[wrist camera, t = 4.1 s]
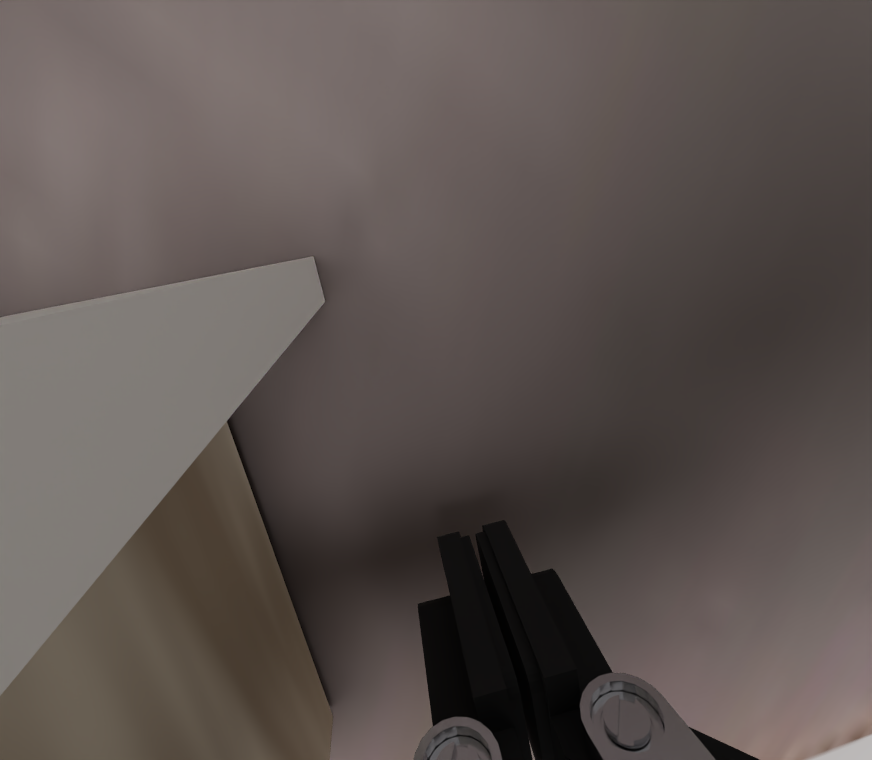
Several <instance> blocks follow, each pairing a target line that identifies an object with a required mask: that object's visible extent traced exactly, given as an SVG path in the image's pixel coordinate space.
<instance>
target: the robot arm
mask: <svg viewBox="0 0 872 760" xmlns="http://www.w3.org/2000/svg"><path fill="white" fill-rule="evenodd" d="M482 527H483V532H481V533H477V534H476V540H477V546H478V551H479V556H480V561H481V566H482V571H483V576H482V573H481V570H480V567H479V564H478V561H477V558H476V555H475V552H474V549H473V546H472V543H471V540H470V537H469V536H465V537H460V534H459V532H455V533H451V534H447V535H443V536H439V537H437V539H438V543H439V548H440V552H441V557H442V561H443V566H444V570H445V575H446V579H447V584H448V588H449V592H450V596H446V597H442V598H438V599H435V600H431V601H427V602H423V603H419V604H418V613H419V620H420V628H421V636H422V644H423V652H424V659H425V667H426V675H427V683H428V691H429V698H430V706H431V714H432V722H433V727H432V728H431V729H430V730H429V731H428V732H427V733H426V734H425V736H424V737H423V738H422V739H421V741H420V743H419V746H418V748H417V750H416V752H415V755H414V760H532V755H531V750H530V744H531V747H532V750H533V754H534V757H535V760H759V759H757V758H755V757H753V756H750V755H748V754H746V753H744V752H742V751H740V750H738V749H735V748H733V747H731V746H729V745H727V744H725V743H722V742H720V741H718V740H716V739H714V738H712V737H709V736H707V735H705V734H703V733H701V732H699V731H697V730H694V729H692V728H690V727H688V726H687V724H686V723H685V722H684V721H683V720H682V718H681V717H680V716H679V715H678V714H677V712H676V711H675V710H674V709H673V708H672V706H671V705H670V704H669V703H668V702H667V700H666V699H665V698H664V697H663V696H662V695H661V694H660V693H659V692H658V691H657V690H656V689H655V688H654V687H653V686H652V685H650V684H649V683H647V682H645V681H644V680H642V679H640V678H638V677H635V676H632V675H629V674H625V673H613V672H612V671H611V669H610V667H609V665H608V664H607V662H606V660H605V658H604V656H603V655H602V653H601V651H600V649H599V648H598V646H597V644H596V642H595V640H594V639H593V637H592V635H591V633H590V632H589V630H588V628H587V626H586V625H585V623H584V621H583V619H582V617H581V616H580V614H579V612H578V610H577V609H576V607H575V605H574V603H573V601H572V600H571V598H570V596H569V594H568V593H567V591H566V589H565V587H564V586H563V584H562V582H561V580H560V578H559V577H558V575H557V574H556V572H555V571H554V570H553V569H549V570H545V571H541V572H538V573H534V574H531V573H530V571H529V569H528V567H527V565H526V563H525V561H524V559H523V556H522V554H521V552H520V550H519V548H518V546H517V544H516V542H515V540H514V538H513V536H512V534H511V532H510V530H509V528H508V526H507V523H506V522H505V521H504V520H503V521H499V522H495V523H491V524H487V525H483V526H482ZM483 577H484V579H483ZM528 738H529V739H528ZM529 741H530V744H529Z"/></svg>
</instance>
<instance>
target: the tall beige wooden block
mask: <svg viewBox="0 0 872 760" xmlns="http://www.w3.org/2000/svg"><path fill="white" fill-rule="evenodd" d="M332 724H333V715H332V713H331V710H330V707H329V704H328V701H327V699H326V696H325V693H324V690H323V688H322V685H321V682H320V679H319V676H318V674H317V671H316V668H315V665H314V663H313V660H312V657H311V654H310V651H309V649H308V646H307V643H306V640H305V638H304V635H303V632H302V629H301V626H300V624H299V621H298V618H297V615H296V613H295V610H294V607H293V604H292V601H291V599H290V596H289V593H288V590H287V588H286V585H285V582H284V579H283V576H282V574H281V571H280V568H279V565H278V562H277V560H276V557H275V554H274V551H273V549H272V546H271V543H270V540H269V537H268V535H267V532H266V529H265V526H264V524H263V521H262V518H261V515H260V512H259V510H258V507H257V504H256V501H255V499H254V496H253V493H252V490H251V487H250V485H249V482H248V479H247V476H246V474H245V471H244V468H243V465H242V462H241V460H240V457H239V454H238V451H237V449H236V446H235V443H234V440H233V437H232V435H231V432H230V429H229V426H228V424H227V421H226V423H225V424H224V425H223V426H222V428H221V429H220V430H219V431H218V432H217V434H216V435H215V436H214V437H213V438H212V440H211V441H210V442H209V443H208V445H207V446H206V447H205V448H204V449H203V451H202V452H201V453H200V454H199V455H198V457H197V458H196V459H195V460H194V461H193V463H192V464H191V465H190V466H189V468H188V469H187V470H186V471H185V472H184V474H183V475H182V476H181V477H180V478H179V480H178V481H177V482H176V483H175V485H174V486H173V487H172V488H171V489H170V491H169V492H168V493H167V494H166V495H165V497H164V498H163V499H162V500H161V502H160V503H159V504H158V505H157V506H156V508H155V509H154V510H153V511H152V512H151V514H150V515H149V516H148V517H147V518H146V520H145V521H144V522H143V523H142V525H141V526H140V527H139V528H138V529H137V531H136V532H135V533H134V534H133V535H132V537H131V538H130V539H129V540H128V542H127V543H126V544H125V545H124V546H123V548H122V549H121V550H120V551H119V552H118V554H117V555H116V556H115V557H114V559H113V560H112V561H111V562H110V563H109V565H108V566H107V567H106V568H105V569H104V571H103V572H102V573H101V574H100V576H99V577H98V578H97V579H96V580H95V582H94V583H93V584H92V585H91V586H90V588H89V589H88V590H87V591H86V592H85V594H84V595H83V596H82V597H81V599H80V600H79V601H78V602H77V603H76V605H75V606H74V607H73V608H72V609H71V611H70V612H69V613H68V614H67V616H66V617H65V618H64V619H63V620H62V622H61V623H60V624H59V625H58V626H57V628H56V629H55V630H54V631H53V633H52V634H51V635H50V636H49V637H48V639H47V640H46V641H45V642H44V643H43V645H42V646H41V647H40V648H39V650H38V651H37V652H36V653H35V654H34V656H33V657H32V658H31V659H30V660H29V662H28V663H27V664H26V665H25V666H24V668H23V669H22V670H21V671H20V673H19V674H18V675H17V676H16V677H15V679H14V680H13V681H12V682H11V683H10V685H9V686H8V687H7V688H6V690H5V691H4V692H3V693H2V694H1V696H0V760H329V759H330V747H331V735H332Z"/></svg>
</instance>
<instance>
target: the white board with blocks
mask: <svg viewBox="0 0 872 760" xmlns="http://www.w3.org/2000/svg"><path fill="white" fill-rule="evenodd" d="M324 303H325V299H324V295H323V291H322V287H321V283H320V279H319V276H318V272H317V268H316V264H315V260H314V256H312V257H307V258H301V259H296V260H291V261H286V262H281V263H276V264H271V265H265V266H260V267H255V268H250V269H245V270H240V271H235V272H229V273H224V274H219V275H214V276H209V277H204V278H198V279H193V280H188V281H183V282H178V283H173V284H168V285H162V286H157V287H152V288H147V289H142V290H137V291H132V292H126V293H121V294H116V295H111V296H106V297H101V298H96V299H90V300H85V301H80V302H75V303H70V304H65V305H59V306H54V307H49V308H44V309H39V310H34V311H29V312H23V313H18V314H13V315H8V316H3V317H0V696H1V694H2V693H3V692H4V691H5V690H6V688H7V687H8V686H9V685H10V683H11V682H12V681H13V680H14V679H15V677H16V676H17V675H18V674H19V673H20V671H21V670H22V669H23V668H24V666H25V665H26V664H27V663H28V662H29V660H30V659H31V658H32V657H33V656H34V654H35V653H36V652H37V651H38V650H39V648H40V647H41V646H42V645H43V643H44V642H45V641H46V640H47V639H48V637H49V636H50V635H51V634H52V633H53V631H54V630H55V629H56V628H57V626H58V625H59V624H60V623H61V622H62V620H63V619H64V618H65V617H66V616H67V614H68V613H69V612H70V611H71V609H72V608H73V607H74V606H75V605H76V603H77V602H78V601H79V600H80V599H81V597H82V596H83V595H84V594H85V592H86V591H87V590H88V589H89V588H90V586H91V585H92V584H93V583H94V582H95V580H96V579H97V578H98V577H99V576H100V574H101V573H102V572H103V571H104V569H105V568H106V567H107V566H108V565H109V563H110V562H111V561H112V560H113V559H114V557H115V556H116V555H117V554H118V552H119V551H120V550H121V549H122V548H123V546H124V545H125V544H126V543H127V542H128V540H129V539H130V538H131V537H132V535H133V534H134V533H135V532H136V531H137V529H138V528H139V527H140V526H141V525H142V523H143V522H144V521H145V520H146V518H147V517H148V516H149V515H150V514H151V512H152V511H153V510H154V509H155V508H156V506H157V505H158V504H159V503H160V502H161V500H162V499H163V498H164V497H165V495H166V494H167V493H168V492H169V491H170V489H171V488H172V487H173V486H174V485H175V483H176V482H177V481H178V480H179V478H180V477H181V476H182V475H183V474H184V472H185V471H186V470H187V469H188V468H189V466H190V465H191V464H192V463H193V461H194V460H195V459H196V458H197V457H198V455H199V454H200V453H201V452H202V451H203V449H204V448H205V447H206V446H207V445H208V443H209V442H210V441H211V440H212V438H213V437H214V436H215V435H216V434H217V432H218V431H219V430H220V429H221V428H222V426H223V425H224V424H225V423H226V421H227V420H228V419H229V418H230V417H231V415H232V414H233V413H234V412H235V411H236V409H237V408H238V407H239V406H240V404H241V403H242V402H243V401H244V400H245V398H246V397H247V396H248V395H249V394H250V392H251V391H252V390H253V389H254V387H255V386H256V385H257V384H258V383H259V381H260V380H261V379H262V378H263V377H264V375H265V374H266V373H267V372H268V371H269V369H270V368H271V367H272V366H273V364H274V363H275V362H276V361H277V360H278V358H279V357H280V356H281V355H282V354H283V352H284V351H285V350H286V349H287V347H288V346H289V345H290V344H291V343H292V341H293V340H294V339H295V338H296V337H297V335H298V334H299V333H300V332H301V330H302V329H303V328H304V327H305V326H306V324H307V323H308V322H309V321H310V320H311V318H312V317H313V316H314V315H315V313H316V312H317V311H318V310H319V309H320V307H321V306H322V305H323V304H324Z"/></svg>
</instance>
